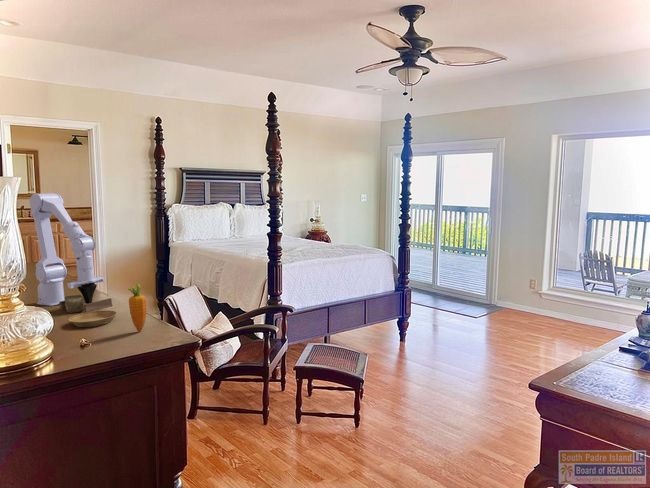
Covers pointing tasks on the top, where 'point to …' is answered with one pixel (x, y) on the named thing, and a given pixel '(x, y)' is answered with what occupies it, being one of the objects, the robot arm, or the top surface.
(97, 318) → the plant saucer
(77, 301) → the stone block
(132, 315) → the carrot
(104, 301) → the chute
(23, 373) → the top surface
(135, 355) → the top surface
